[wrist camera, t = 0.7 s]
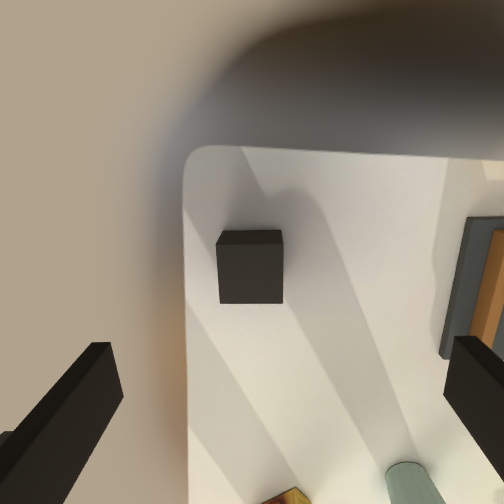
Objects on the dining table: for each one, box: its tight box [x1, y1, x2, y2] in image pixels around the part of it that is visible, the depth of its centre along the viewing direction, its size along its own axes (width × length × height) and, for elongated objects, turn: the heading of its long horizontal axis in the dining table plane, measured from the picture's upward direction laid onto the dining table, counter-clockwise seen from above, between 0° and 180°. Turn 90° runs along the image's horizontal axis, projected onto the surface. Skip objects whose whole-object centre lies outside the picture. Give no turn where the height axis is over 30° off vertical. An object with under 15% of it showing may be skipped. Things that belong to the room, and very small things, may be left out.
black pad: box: [216, 230, 283, 304], centre depth 30 cm, size 6×6×4 cm
